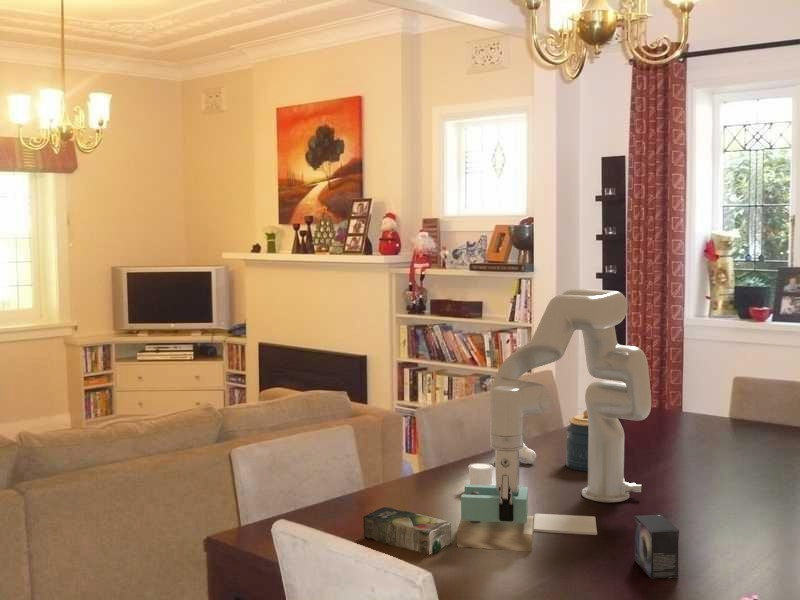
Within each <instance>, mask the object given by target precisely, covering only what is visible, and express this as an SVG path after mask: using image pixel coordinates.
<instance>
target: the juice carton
mask: <svg viewBox="0 0 800 600" xmlns="http://www.w3.org/2000/svg"><path fill="white" fill-rule="evenodd" d="M362 519H363V536H364V539H373V540H375V541H376V542H377V543H382V544H385V545H389V546H392V547H396V548H402V549H407V550H410V551H414V550H415V551H414V552H417V551H420V552H419V553H422V552H424V553H423V554H426V553H428V554H427V555H430V554H431V553H433V554H435V553H437V552H439V551H440V550H442V549H443V548H442V547H444V546H445V545H447V544H449V545H451V544H450V543H452V539H451V538H452V522H451V521H448V520H443V519H440V518H435V517H431V516H427V515H423V514H420V513H415V512H411V511H407V510H406V511H405V510H399V509H395V508H393V507H387V506H384V507H381V508H378V509H376V510H375V511H372V512H370V513H367V514H365V515H364V516H363V518H362ZM447 546H448V545H447ZM445 547H446V546H445ZM445 547H444V548H445ZM441 548H442V549H441ZM431 555H432V554H431Z"/></svg>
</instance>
